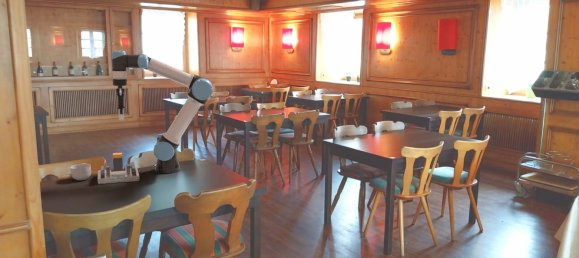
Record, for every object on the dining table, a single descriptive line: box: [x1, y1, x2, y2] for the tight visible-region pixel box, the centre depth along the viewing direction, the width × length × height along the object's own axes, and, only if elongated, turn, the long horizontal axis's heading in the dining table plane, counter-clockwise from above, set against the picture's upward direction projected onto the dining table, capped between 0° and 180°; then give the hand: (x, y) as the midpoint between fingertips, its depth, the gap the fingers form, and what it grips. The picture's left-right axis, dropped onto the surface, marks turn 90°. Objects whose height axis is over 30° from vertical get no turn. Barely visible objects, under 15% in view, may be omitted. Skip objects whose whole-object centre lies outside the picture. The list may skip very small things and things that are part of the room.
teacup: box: [69, 162, 92, 181], centre depth 270 cm, size 14×11×8 cm
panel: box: [97, 163, 140, 185], centre depth 272 cm, size 22×18×7 cm
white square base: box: [100, 161, 136, 178], centre depth 272 cm, size 19×19×4 cm
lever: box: [110, 152, 126, 172], centre depth 269 cm, size 8×2×12 cm, turn 111°
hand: (121, 119), depth 268 cm, fingers closed
